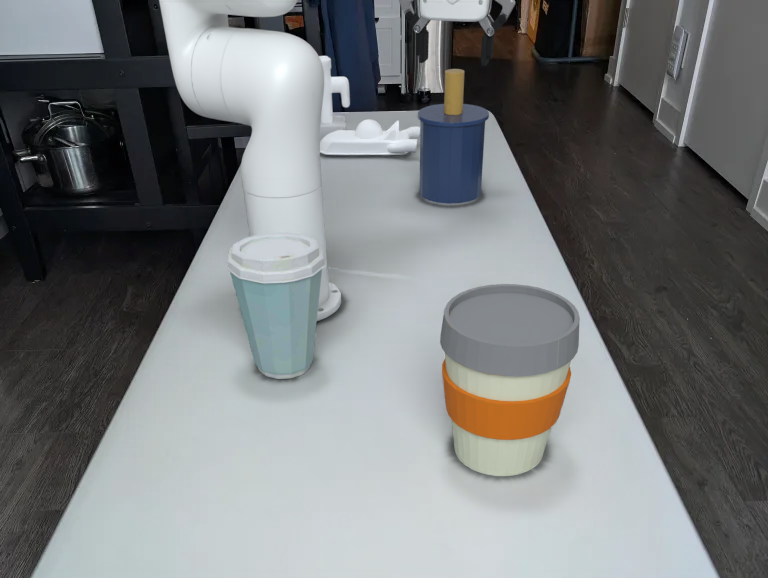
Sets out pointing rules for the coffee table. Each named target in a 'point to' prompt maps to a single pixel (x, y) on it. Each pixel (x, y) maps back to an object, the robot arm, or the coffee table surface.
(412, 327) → the coffee table surface
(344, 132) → the plane toy
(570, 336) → the reusable coffee cup
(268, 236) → the disposable coffee cup
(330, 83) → the white faucet
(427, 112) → the tin lid
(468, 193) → the tin
